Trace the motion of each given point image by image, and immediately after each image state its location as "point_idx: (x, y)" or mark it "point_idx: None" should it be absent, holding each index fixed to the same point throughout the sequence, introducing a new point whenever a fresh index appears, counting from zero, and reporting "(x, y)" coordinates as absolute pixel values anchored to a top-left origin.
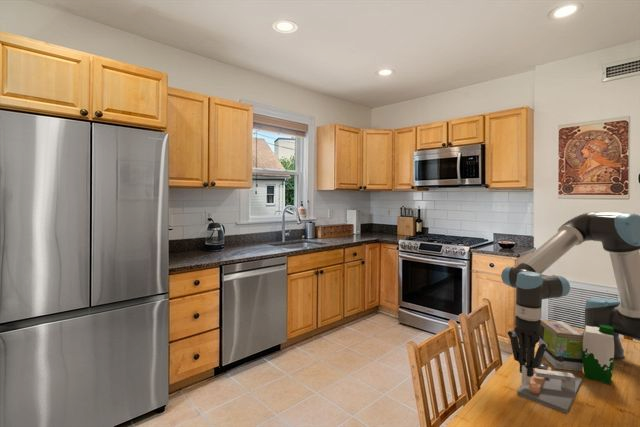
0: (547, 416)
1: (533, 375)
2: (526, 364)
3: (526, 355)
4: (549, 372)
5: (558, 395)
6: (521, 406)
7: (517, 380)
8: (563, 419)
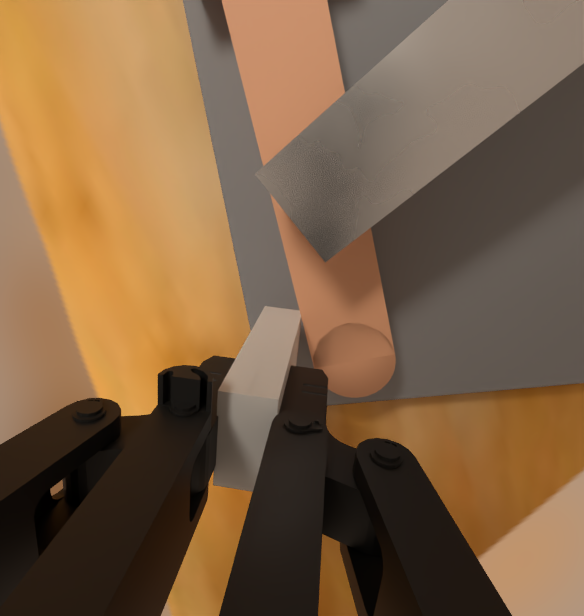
0: (495, 488)
1: (263, 157)
2: (229, 415)
3: (169, 497)
4: (430, 108)
5: (506, 218)
6: None
7: (169, 197)
8: (579, 450)
